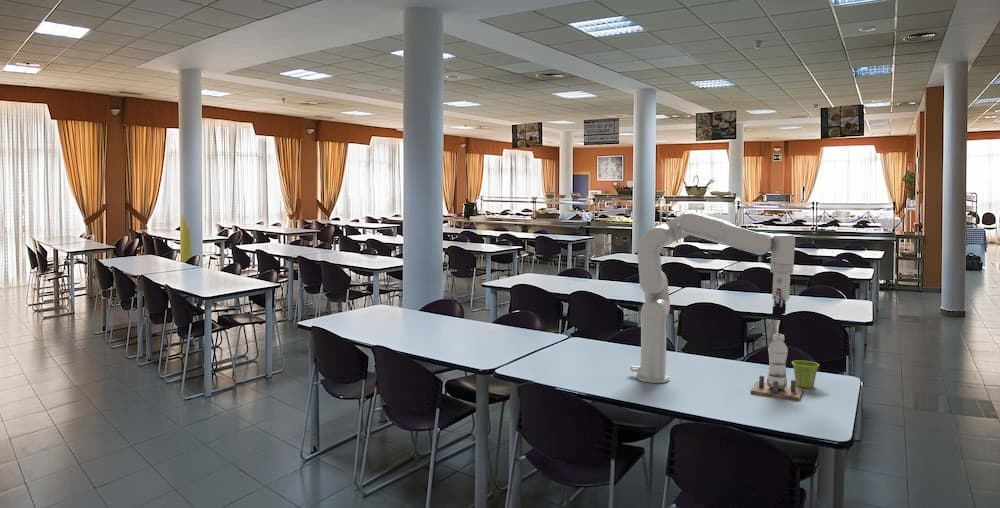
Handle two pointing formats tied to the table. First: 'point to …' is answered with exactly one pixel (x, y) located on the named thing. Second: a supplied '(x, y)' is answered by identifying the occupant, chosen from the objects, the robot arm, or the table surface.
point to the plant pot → (805, 373)
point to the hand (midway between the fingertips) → (778, 315)
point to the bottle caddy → (787, 393)
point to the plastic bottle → (777, 362)
